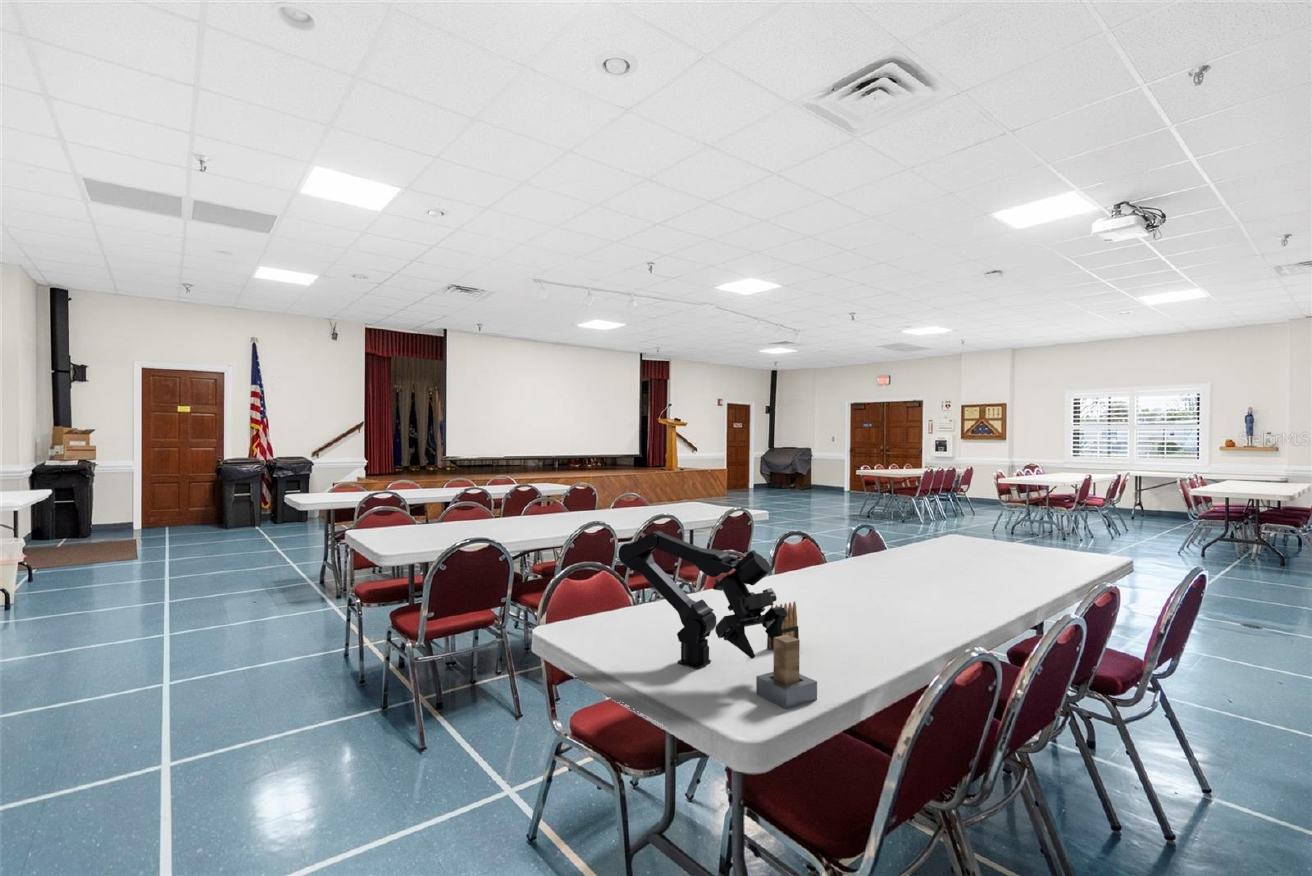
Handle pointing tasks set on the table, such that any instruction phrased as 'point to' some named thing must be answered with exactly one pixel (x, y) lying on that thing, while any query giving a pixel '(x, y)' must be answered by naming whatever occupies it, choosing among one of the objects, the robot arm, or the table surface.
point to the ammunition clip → (787, 624)
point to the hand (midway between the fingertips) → (768, 654)
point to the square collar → (786, 690)
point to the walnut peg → (786, 659)
